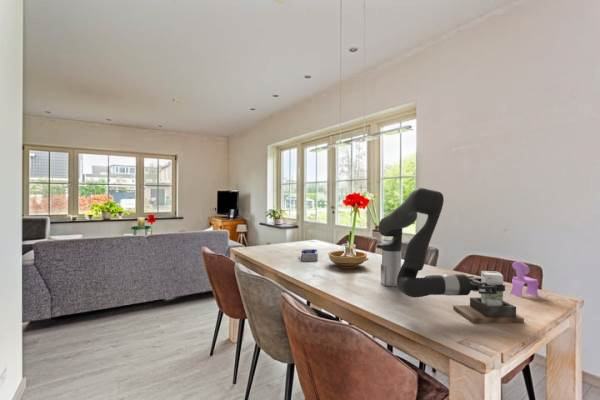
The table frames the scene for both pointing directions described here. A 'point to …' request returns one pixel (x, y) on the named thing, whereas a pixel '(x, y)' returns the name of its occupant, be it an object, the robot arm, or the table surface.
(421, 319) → the table surface
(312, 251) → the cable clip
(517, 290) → the toy chair
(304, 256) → the desk tidy
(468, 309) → the socket block
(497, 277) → the syrup box
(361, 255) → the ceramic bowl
